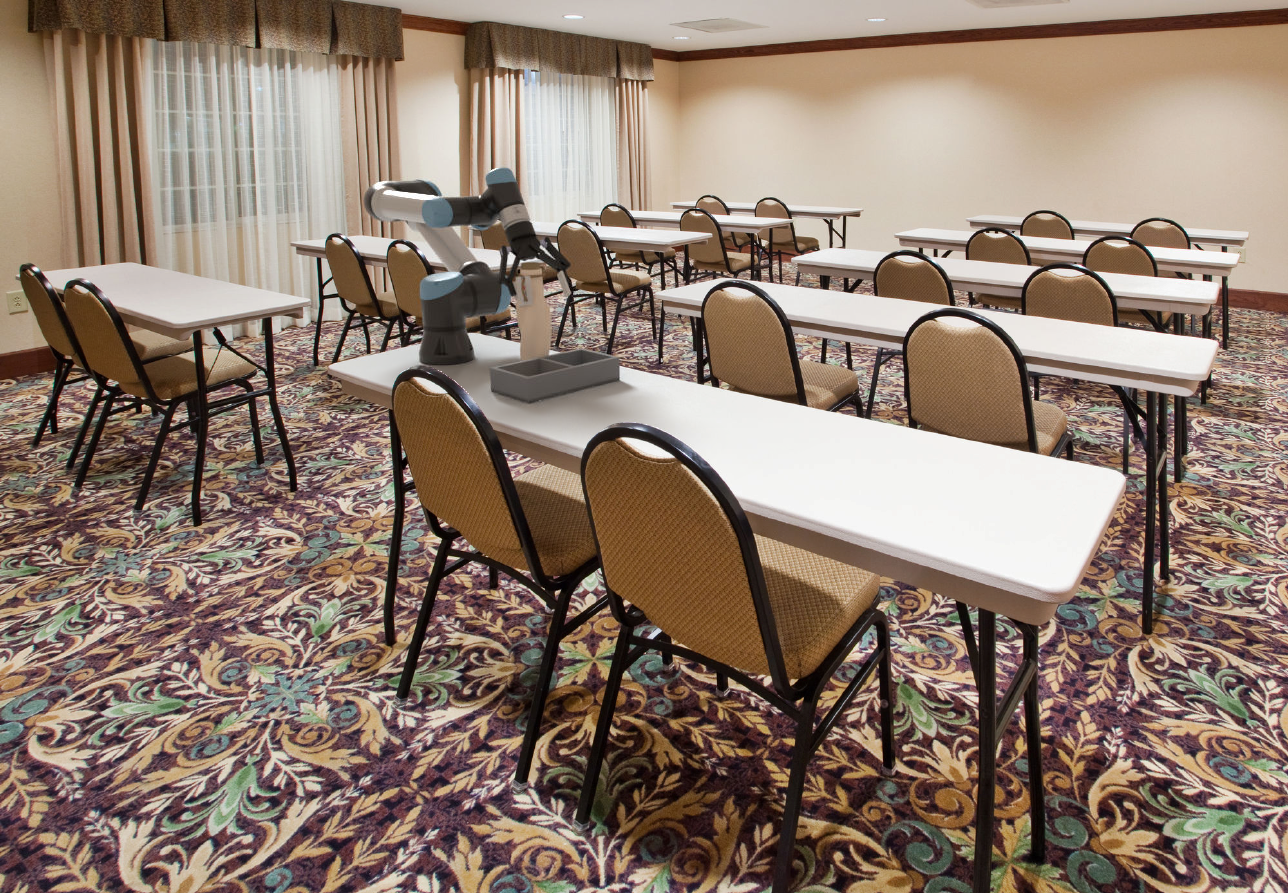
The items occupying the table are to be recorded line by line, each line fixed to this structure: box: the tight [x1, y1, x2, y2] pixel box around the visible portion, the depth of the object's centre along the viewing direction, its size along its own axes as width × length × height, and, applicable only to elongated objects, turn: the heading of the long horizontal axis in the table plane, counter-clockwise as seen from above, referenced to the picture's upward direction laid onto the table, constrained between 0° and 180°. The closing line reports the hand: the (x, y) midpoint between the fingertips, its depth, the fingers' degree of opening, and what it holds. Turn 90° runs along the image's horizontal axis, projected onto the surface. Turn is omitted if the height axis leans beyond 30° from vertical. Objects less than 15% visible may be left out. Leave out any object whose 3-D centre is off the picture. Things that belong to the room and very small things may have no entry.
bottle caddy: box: [489, 347, 621, 405], centre depth 210 cm, size 14×30×6 cm, turn 136°
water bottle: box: [515, 261, 552, 361], centre depth 221 cm, size 10×9×28 cm
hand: (545, 301), depth 222 cm, fingers open, 13 cm apart
